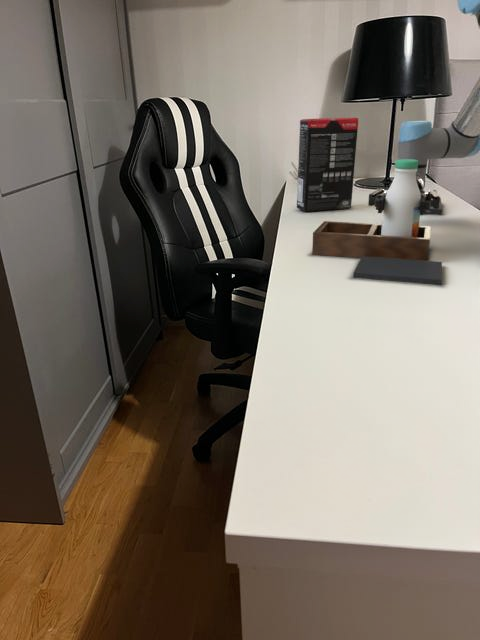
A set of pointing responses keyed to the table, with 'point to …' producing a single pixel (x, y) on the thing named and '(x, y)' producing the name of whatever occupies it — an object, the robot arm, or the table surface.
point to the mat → (399, 270)
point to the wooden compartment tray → (368, 241)
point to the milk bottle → (402, 202)
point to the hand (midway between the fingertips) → (400, 207)
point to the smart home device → (434, 210)
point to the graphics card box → (326, 163)
